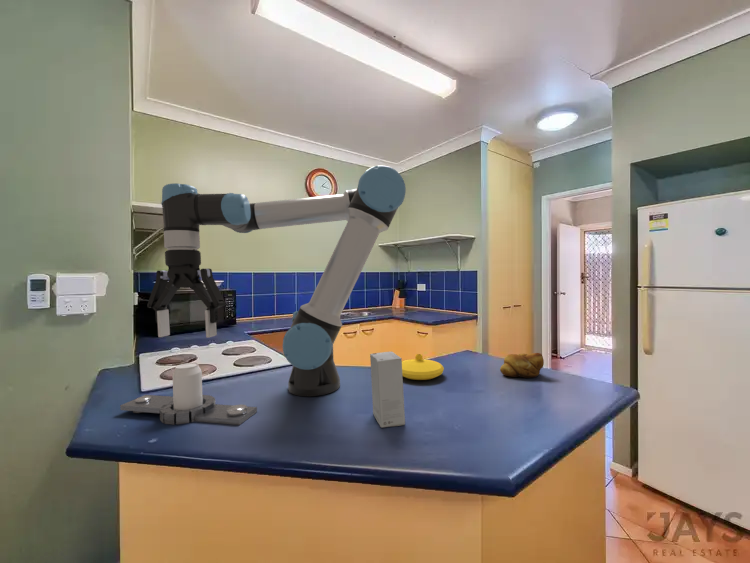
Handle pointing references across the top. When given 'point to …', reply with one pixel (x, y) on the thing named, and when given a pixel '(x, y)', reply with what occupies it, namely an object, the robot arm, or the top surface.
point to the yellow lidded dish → (421, 368)
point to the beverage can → (187, 386)
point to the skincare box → (387, 389)
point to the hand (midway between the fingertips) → (187, 336)
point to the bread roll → (522, 365)
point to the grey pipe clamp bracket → (190, 410)
